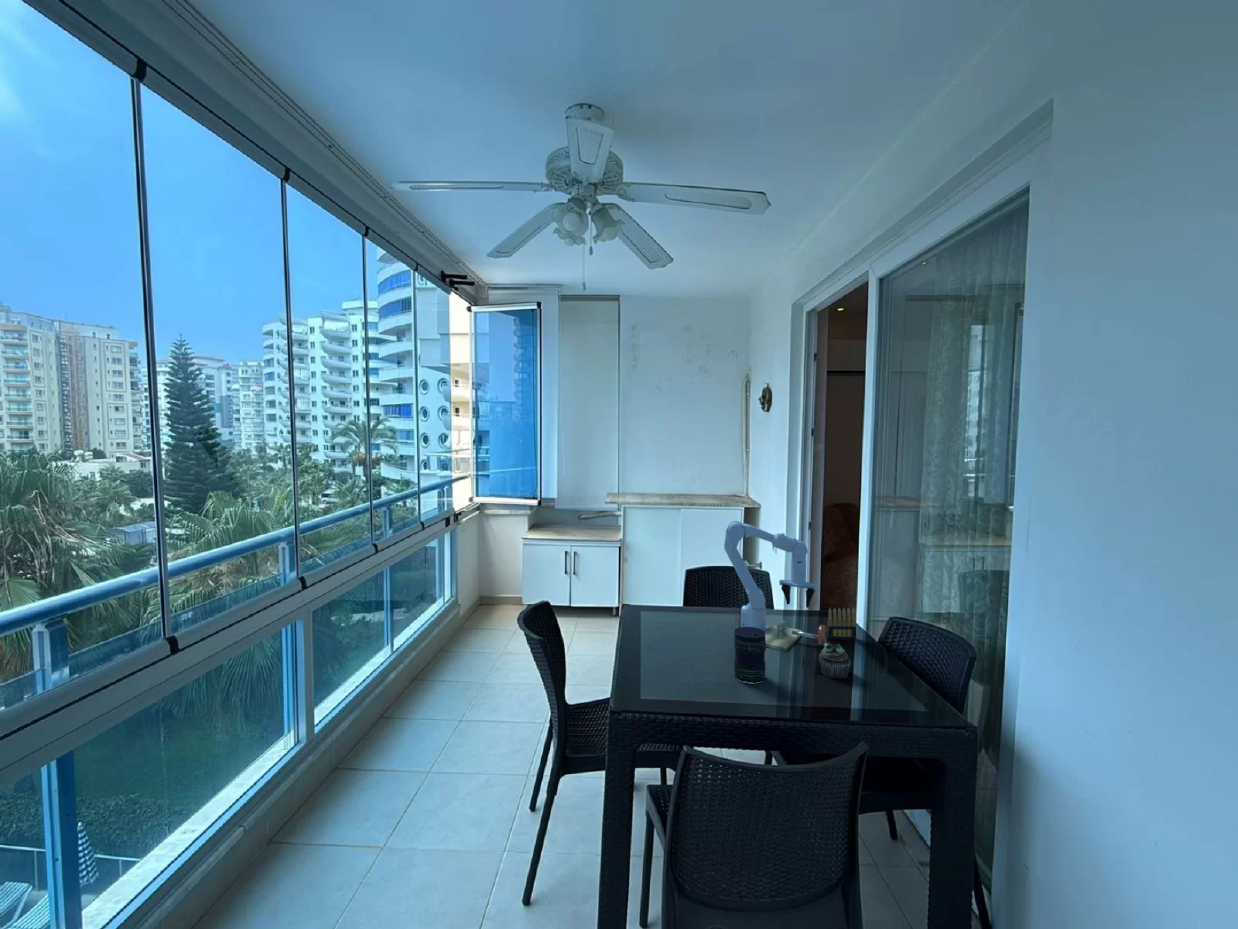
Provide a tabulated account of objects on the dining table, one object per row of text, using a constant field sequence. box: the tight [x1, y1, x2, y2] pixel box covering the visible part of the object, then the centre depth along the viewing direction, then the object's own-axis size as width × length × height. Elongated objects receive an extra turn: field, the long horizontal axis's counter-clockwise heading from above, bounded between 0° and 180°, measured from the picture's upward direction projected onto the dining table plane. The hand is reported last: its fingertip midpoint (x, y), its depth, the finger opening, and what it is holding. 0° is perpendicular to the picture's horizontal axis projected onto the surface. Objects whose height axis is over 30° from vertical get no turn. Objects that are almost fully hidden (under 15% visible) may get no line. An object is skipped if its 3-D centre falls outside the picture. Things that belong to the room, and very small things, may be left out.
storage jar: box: [733, 626, 767, 683], centre depth 177 cm, size 10×10×15 cm
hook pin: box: [792, 624, 828, 646], centre depth 206 cm, size 12×7×7 cm, turn 57°
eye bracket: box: [765, 620, 804, 652], centre depth 213 cm, size 12×22×6 cm, turn 147°
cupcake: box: [818, 641, 852, 679], centre depth 180 cm, size 10×10×10 cm
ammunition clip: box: [826, 607, 857, 641], centre depth 212 cm, size 11×2×12 cm, turn 86°
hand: (798, 605), depth 221 cm, fingers open, 7 cm apart
